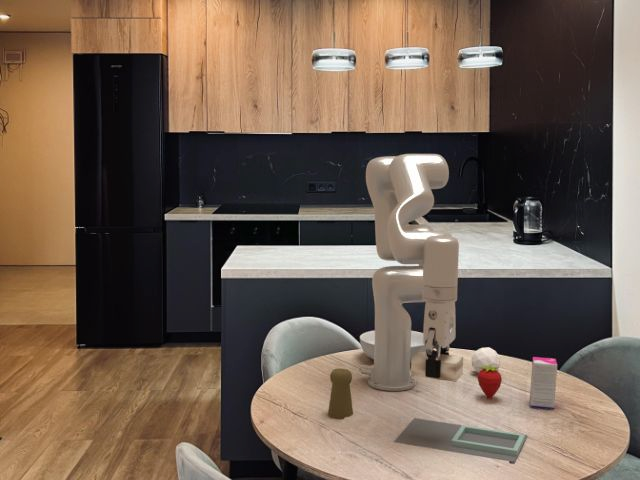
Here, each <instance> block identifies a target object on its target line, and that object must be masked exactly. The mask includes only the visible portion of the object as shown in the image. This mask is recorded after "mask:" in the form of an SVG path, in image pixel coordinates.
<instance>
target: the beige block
mask: <svg viewBox="0 0 640 480" xmlns="http://www.w3.org/2000/svg"><path fill="white" fill-rule="evenodd" d="M439 360H441V371H440V378H431V377H426V376H425V370H426V352H421V351H419V352H418V353H417V354H416V355H415V356H413V357H412V359H411V362H410V376H411V377H418V378H423V379H424V378H425V379H432V380H437V381H438V380H439V381H445V382H447V381H448V382H454V383H457V382H458V380H459V379H460V378H461V377H462V376H463V375H464V356H461V355H460V356H459V355H453V354H449V355H444V354H440V358H439Z"/></svg>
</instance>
